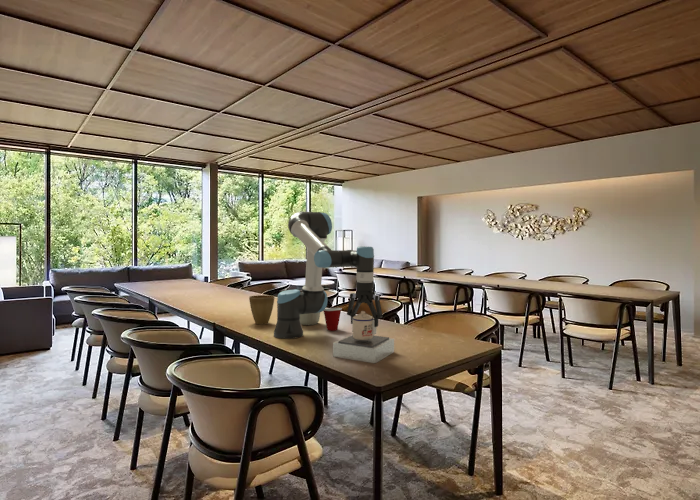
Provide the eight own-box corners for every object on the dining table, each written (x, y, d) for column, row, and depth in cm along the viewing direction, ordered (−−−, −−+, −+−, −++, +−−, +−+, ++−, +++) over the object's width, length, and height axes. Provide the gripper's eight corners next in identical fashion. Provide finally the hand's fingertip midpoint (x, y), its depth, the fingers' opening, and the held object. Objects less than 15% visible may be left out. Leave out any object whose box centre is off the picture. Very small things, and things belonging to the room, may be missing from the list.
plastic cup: (332, 326, 244) (332, 306, 244) (345, 329, 236) (345, 308, 236) (318, 329, 237) (318, 308, 236) (331, 332, 229) (331, 310, 229)
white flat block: (332, 356, 183) (333, 341, 183) (359, 344, 205) (359, 330, 205) (375, 363, 173) (375, 347, 173) (398, 349, 195) (398, 335, 195)
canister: (328, 322, 257) (328, 287, 257) (313, 327, 241) (313, 290, 240) (302, 319, 265) (302, 286, 264) (286, 325, 248) (286, 289, 248)
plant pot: (279, 323, 253) (279, 296, 252) (258, 326, 242) (258, 298, 242) (264, 319, 263) (265, 294, 263) (244, 323, 252) (244, 296, 252)
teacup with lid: (363, 341, 179) (364, 313, 179) (348, 337, 185) (348, 311, 185) (381, 336, 188) (382, 310, 187) (366, 333, 194) (366, 308, 194)
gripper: (339, 280, 188) (338, 331, 188) (384, 283, 177) (383, 337, 178) (347, 279, 194) (346, 328, 195) (391, 282, 184) (390, 334, 185)
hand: (364, 332), depth 187 cm, fingers closed on teacup with lid, 9 cm apart
